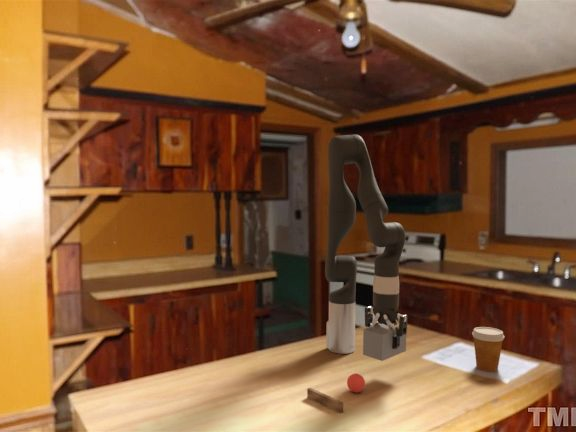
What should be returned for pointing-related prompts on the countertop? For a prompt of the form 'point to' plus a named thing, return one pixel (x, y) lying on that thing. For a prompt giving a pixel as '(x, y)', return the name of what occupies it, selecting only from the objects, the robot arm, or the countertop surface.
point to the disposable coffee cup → (487, 347)
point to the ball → (356, 383)
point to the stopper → (325, 400)
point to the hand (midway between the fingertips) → (384, 345)
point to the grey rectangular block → (381, 342)
